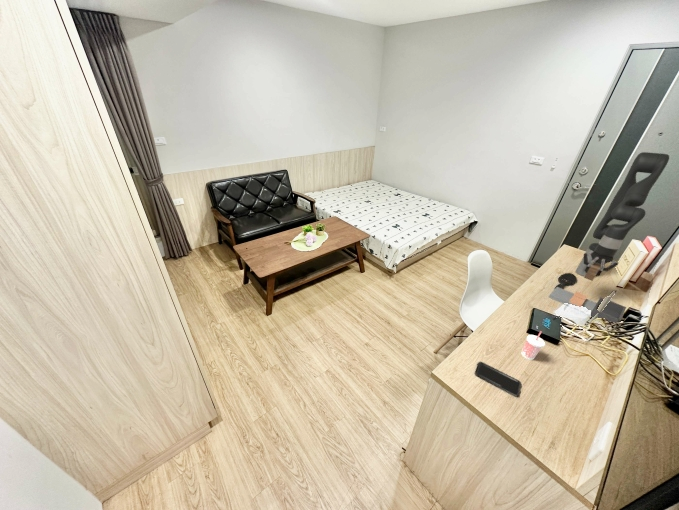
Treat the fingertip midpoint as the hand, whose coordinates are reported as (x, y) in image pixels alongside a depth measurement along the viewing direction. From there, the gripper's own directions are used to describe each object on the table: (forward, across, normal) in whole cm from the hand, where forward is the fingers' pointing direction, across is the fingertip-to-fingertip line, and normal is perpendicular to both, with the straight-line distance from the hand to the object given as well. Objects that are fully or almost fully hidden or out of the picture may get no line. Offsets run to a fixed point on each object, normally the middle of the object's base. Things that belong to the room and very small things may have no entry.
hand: (591, 273), depth 138 cm
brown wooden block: (0, 0, 0) cm, 1 cm away
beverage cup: (+17, +4, +67) cm, 69 cm away
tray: (+16, -13, +7) cm, 22 cm away
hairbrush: (+16, +8, -10) cm, 21 cm away
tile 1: (+14, -1, +4) cm, 14 cm away
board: (+16, +1, +7) cm, 17 cm away
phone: (+18, +7, +89) cm, 91 cm away
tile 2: (+14, -1, +10) cm, 17 cm away
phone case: (+17, -4, +32) cm, 37 cm away
